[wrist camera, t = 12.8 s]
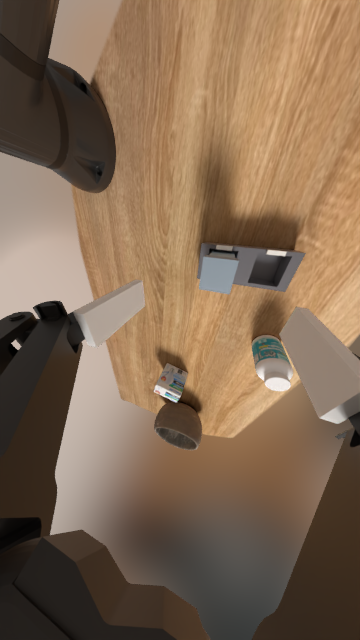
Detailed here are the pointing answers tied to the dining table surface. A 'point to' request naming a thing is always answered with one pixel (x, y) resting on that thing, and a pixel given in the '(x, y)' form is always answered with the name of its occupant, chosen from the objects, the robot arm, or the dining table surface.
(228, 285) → the plug
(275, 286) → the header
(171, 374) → the light bulb box
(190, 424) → the bowl
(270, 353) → the pill bottle
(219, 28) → the dining table surface
